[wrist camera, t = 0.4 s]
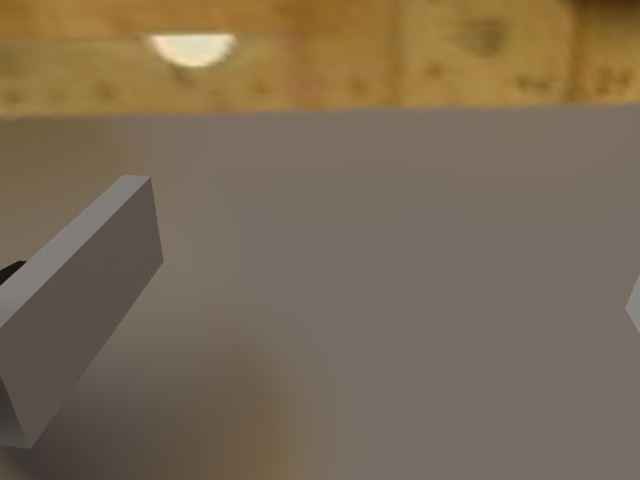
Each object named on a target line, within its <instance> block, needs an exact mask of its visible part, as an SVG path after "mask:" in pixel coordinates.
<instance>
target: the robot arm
mask: <svg viewBox="0 0 640 480" xmlns="http://www.w3.org/2000/svg"><path fill="white" fill-rule="evenodd" d="M162 263H163V255H162V249H161V243H160V236H159V229H158V222H157V216H156V209H155V203H154V197H153V190H152V183H151V178H150V177H145V176H133V175H123V176H122V177H121V178H120V179H118V180H117V181H116V182H115V183H114V184H113V185H112V186H111V187H110V188H108V189H107V190H106V191H105V192H104V193H103V194H102V195H101V196H100V197H99V198H97V199H96V200H95V201H94V202H93V203H92V204H91V205H90V206H88V207H87V208H86V209H85V210H84V211H83V212H82V213H81V214H80V215H78V216H77V217H76V218H75V219H74V220H73V221H72V222H71V223H70V224H68V225H67V226H66V227H65V228H64V229H63V230H62V231H61V232H60V233H59V234H57V235H56V236H55V237H54V238H53V239H52V240H51V241H50V242H48V243H47V244H46V245H45V246H44V247H43V248H42V249H41V250H40V251H38V253H36V254H35V255H34V256H33V257H32V258H31V259H30V260H29V261H18V262H16V263H14V264H12V265H10V266H8V267H6V268H4V269H2V270H0V445H6V446H13V447H20V448H28V449H30V448H31V447H32V445H33V444H34V443H35V441H36V440H37V438H38V437H39V435H40V434H41V433H42V431H43V430H44V428H45V427H46V425H47V424H48V423H49V421H50V420H51V419H52V417H53V416H54V414H55V413H56V411H57V410H58V409H59V407H60V406H61V405H62V403H63V402H64V400H65V399H66V398H67V396H68V395H69V393H70V392H71V390H72V389H73V388H74V386H75V385H76V384H77V382H78V381H79V379H80V378H81V377H82V375H83V374H84V372H85V371H86V369H87V368H88V367H89V365H90V364H91V363H92V361H93V360H94V358H95V357H96V355H97V354H98V353H99V351H100V350H101V348H102V347H103V346H104V344H105V343H106V341H107V340H108V339H109V337H110V336H111V334H112V333H113V332H114V330H115V329H116V327H117V326H118V325H119V323H120V322H121V320H122V319H123V317H124V316H125V315H126V313H127V312H128V311H129V309H130V308H131V306H132V305H133V304H134V302H135V301H136V299H137V298H138V297H139V295H140V294H141V292H142V291H143V290H144V288H145V287H146V285H147V284H148V282H149V281H150V280H151V278H152V277H153V276H154V274H155V273H156V271H157V270H158V268H159V267H160V266H161V264H162ZM625 309H626V310H627V312H628V314H629V316H630V317H631V319H632V321H633V323H634V325H635V326H636V328H637V330H638V332H639V333H640V274H639V276H638V279H637V281H636V284H635V286H634V289H633V291H632V294H631V296H630V298H629V301H628V303H627V306H626V308H625Z"/></svg>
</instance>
